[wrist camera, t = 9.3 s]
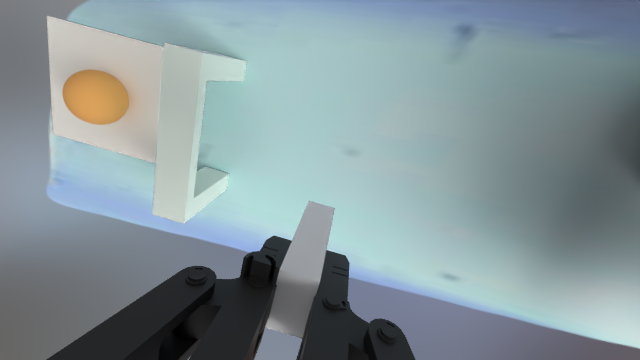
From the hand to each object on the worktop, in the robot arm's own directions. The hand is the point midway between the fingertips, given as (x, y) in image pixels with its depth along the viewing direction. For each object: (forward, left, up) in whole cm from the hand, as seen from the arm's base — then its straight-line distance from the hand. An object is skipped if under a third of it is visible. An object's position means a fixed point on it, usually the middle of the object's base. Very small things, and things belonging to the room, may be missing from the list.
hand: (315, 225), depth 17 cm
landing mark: (+27, 0, -16) cm, 32 cm away
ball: (+26, 0, -14) cm, 29 cm away
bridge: (+13, 0, -16) cm, 21 cm away
